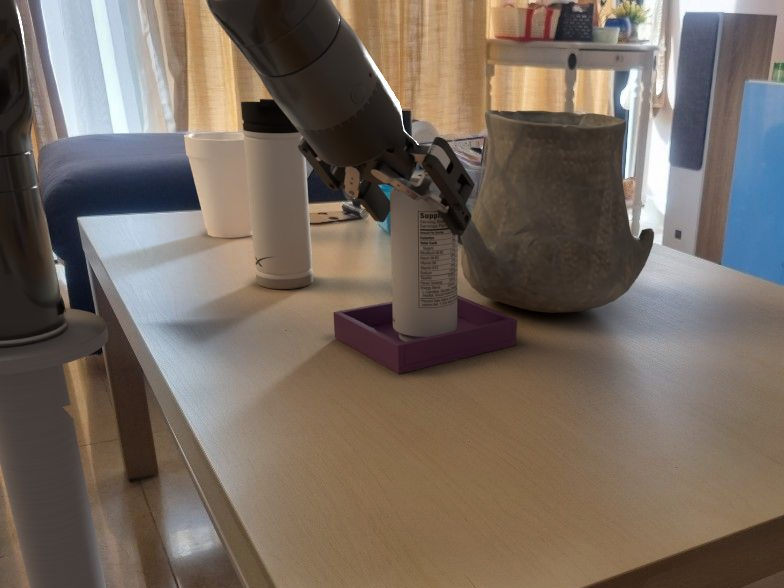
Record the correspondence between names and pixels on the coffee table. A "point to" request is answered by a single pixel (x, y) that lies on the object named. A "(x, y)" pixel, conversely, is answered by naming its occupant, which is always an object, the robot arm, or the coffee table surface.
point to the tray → (382, 343)
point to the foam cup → (221, 181)
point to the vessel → (553, 214)
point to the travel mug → (277, 197)
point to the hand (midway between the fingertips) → (422, 220)
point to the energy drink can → (422, 267)
